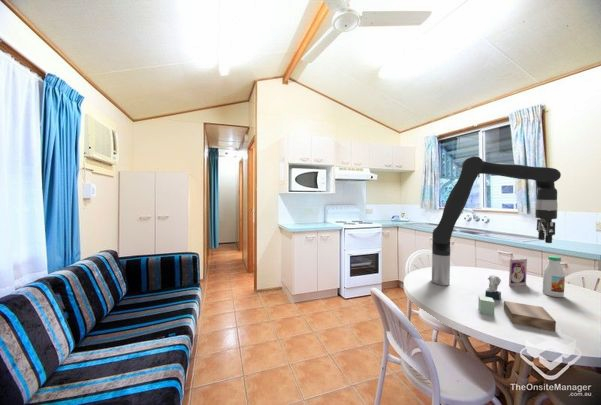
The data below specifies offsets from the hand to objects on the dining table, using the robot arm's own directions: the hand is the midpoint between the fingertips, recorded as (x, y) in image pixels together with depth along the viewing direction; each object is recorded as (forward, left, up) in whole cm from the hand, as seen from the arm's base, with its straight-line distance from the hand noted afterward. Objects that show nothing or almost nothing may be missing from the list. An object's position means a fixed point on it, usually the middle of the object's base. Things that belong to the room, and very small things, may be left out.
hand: (544, 241), depth 120 cm
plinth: (-13, -30, -29) cm, 44 cm away
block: (-27, -30, -29) cm, 50 cm away
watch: (-21, -10, -29) cm, 38 cm away
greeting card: (-7, +18, -29) cm, 35 cm away
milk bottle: (+7, +8, -29) cm, 31 cm away
